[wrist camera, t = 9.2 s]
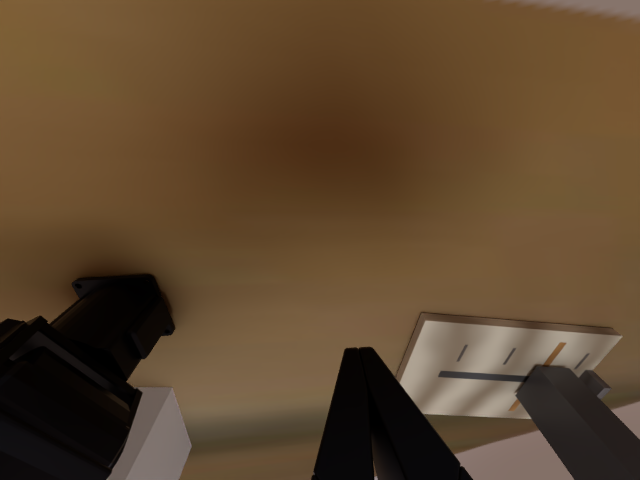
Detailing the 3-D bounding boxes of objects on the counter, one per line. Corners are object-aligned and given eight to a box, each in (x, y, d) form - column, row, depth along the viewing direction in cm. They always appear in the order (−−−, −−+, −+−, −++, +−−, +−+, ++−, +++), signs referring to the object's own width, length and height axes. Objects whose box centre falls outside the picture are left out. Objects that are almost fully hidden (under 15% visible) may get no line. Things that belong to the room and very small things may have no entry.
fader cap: (515, 395, 29) (607, 527, 20) (537, 366, 27) (652, 498, 18) (545, 397, 29) (650, 527, 20) (569, 368, 27) (698, 499, 18)
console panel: (385, 403, 31) (392, 431, 28) (421, 312, 25) (434, 337, 22) (541, 411, 33) (562, 438, 30) (612, 328, 26) (646, 353, 24)
